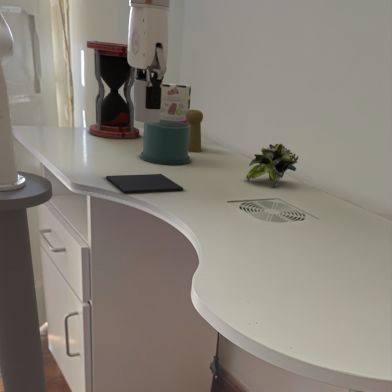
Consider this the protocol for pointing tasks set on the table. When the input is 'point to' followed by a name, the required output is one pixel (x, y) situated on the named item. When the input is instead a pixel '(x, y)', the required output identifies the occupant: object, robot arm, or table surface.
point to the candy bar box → (175, 102)
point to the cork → (194, 129)
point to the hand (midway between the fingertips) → (147, 105)
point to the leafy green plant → (272, 162)
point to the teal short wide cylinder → (166, 142)
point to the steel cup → (143, 104)
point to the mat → (143, 183)
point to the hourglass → (113, 91)
